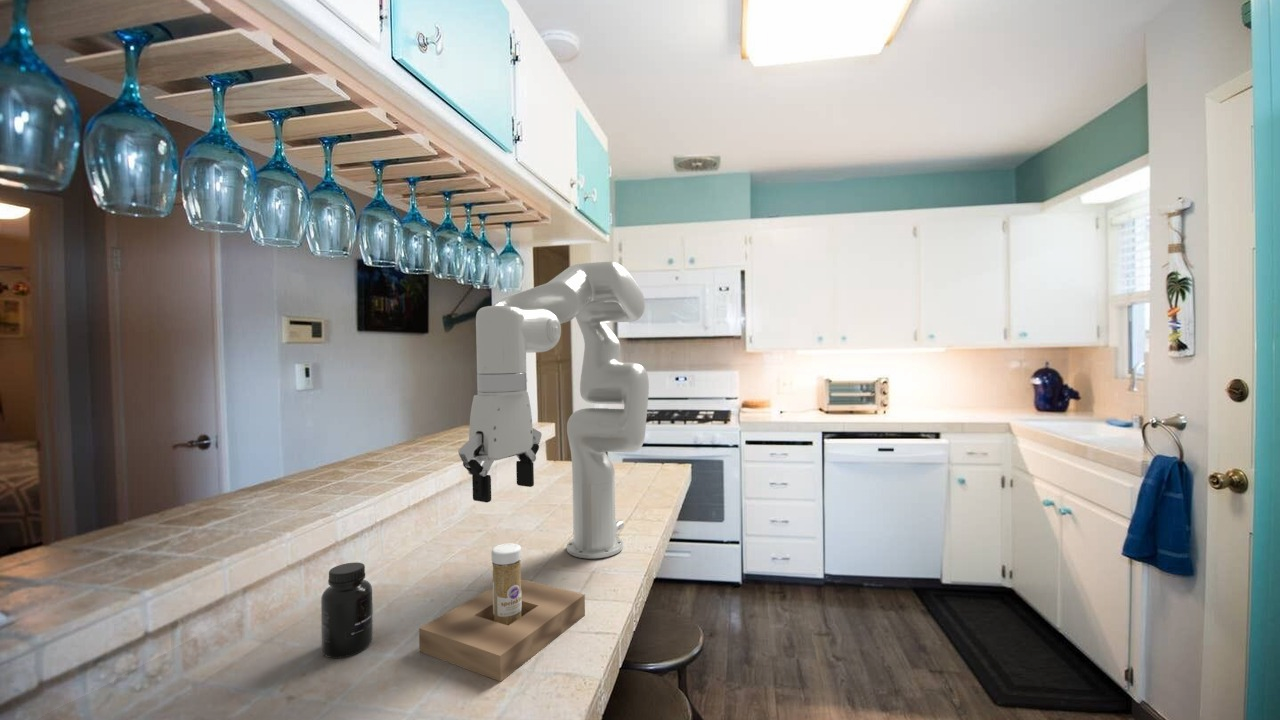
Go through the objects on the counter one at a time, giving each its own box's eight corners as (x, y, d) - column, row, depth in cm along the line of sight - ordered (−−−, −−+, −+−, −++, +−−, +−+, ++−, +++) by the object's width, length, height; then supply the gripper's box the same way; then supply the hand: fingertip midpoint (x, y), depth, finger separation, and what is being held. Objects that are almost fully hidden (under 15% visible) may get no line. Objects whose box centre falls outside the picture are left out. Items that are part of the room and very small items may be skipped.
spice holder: (512, 595, 96) (511, 576, 96) (585, 615, 88) (584, 594, 88) (419, 651, 78) (419, 628, 78) (500, 681, 70) (500, 655, 70)
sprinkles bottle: (508, 642, 80) (506, 554, 80) (486, 634, 82) (485, 549, 82) (528, 628, 84) (527, 544, 84) (507, 621, 86) (505, 540, 86)
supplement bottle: (368, 654, 77) (366, 574, 77) (315, 663, 75) (313, 580, 75) (377, 631, 84) (375, 556, 84) (329, 638, 82) (327, 562, 82)
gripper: (520, 381, 92) (523, 478, 92) (441, 388, 77) (444, 504, 77) (555, 381, 88) (557, 482, 89) (479, 389, 73) (481, 511, 73)
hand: (504, 493), depth 83 cm, fingers open, 9 cm apart
